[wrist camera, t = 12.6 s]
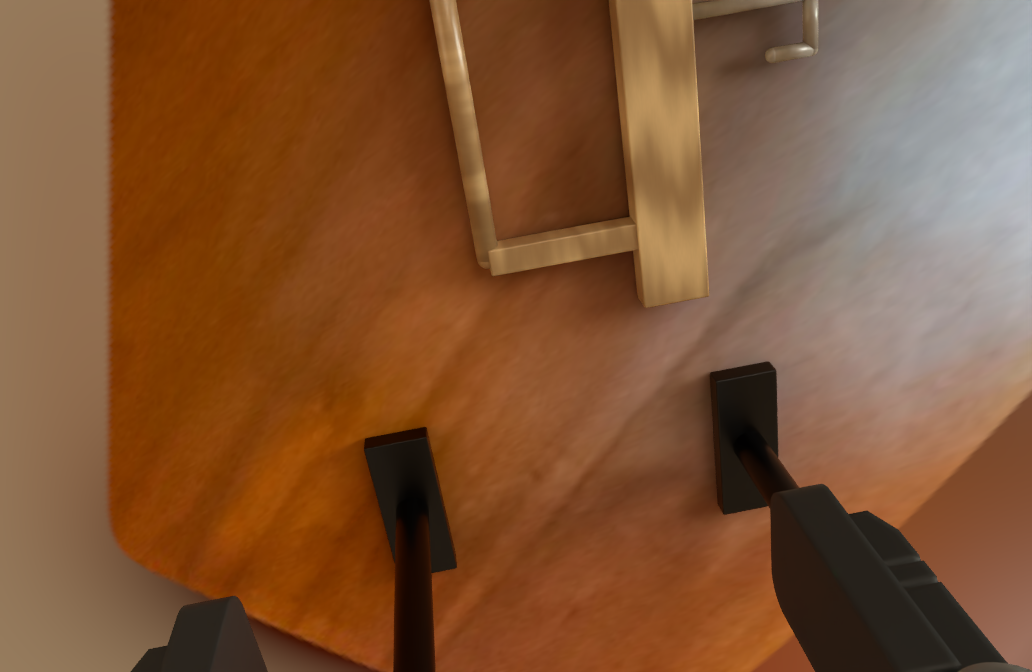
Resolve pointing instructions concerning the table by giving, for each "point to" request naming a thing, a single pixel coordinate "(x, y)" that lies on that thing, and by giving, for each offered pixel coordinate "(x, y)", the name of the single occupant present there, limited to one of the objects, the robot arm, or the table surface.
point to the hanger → (646, 146)
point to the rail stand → (425, 529)
